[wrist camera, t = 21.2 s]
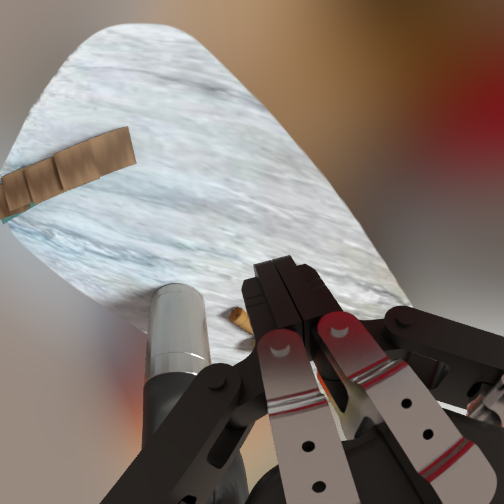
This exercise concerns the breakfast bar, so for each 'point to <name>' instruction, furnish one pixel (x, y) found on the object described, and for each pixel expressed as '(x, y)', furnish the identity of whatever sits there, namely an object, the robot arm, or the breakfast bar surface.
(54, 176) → the domino
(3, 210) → the domino
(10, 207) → the domino
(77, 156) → the domino
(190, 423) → the robot arm
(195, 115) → the breakfast bar surface
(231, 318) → the kendama
